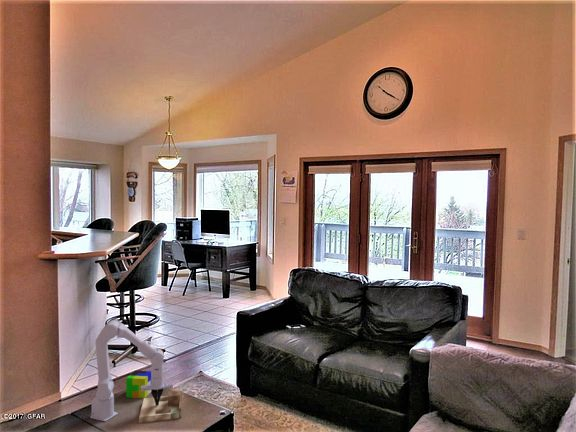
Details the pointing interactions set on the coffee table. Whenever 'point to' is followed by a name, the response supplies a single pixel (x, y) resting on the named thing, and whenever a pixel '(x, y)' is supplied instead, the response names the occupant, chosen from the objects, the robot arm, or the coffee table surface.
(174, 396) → the block
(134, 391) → the puzzle toy
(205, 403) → the coffee table surface
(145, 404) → the trap board
